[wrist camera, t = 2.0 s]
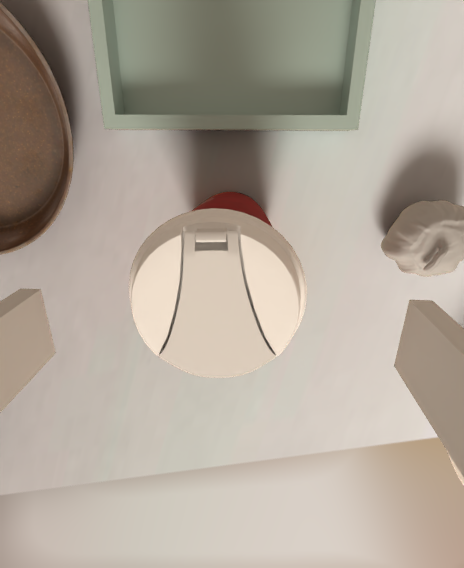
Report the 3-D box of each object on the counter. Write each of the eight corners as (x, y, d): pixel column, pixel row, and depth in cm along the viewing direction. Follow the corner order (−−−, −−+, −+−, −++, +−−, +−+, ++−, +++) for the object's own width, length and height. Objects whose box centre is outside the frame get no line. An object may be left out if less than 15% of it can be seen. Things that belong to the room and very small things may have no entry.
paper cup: (177, 177, 25) (102, 217, 12) (281, 175, 25) (319, 213, 12) (185, 275, 28) (133, 390, 15) (279, 275, 28) (305, 392, 15)
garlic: (388, 278, 27) (418, 306, 23) (362, 220, 26) (388, 239, 21) (463, 241, 26) (512, 264, 21) (441, 179, 24) (488, 188, 20)
